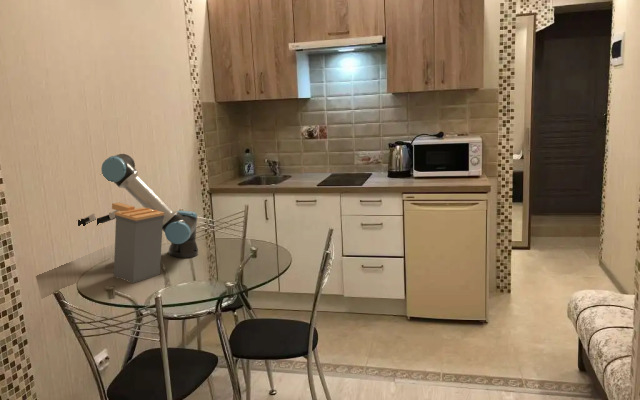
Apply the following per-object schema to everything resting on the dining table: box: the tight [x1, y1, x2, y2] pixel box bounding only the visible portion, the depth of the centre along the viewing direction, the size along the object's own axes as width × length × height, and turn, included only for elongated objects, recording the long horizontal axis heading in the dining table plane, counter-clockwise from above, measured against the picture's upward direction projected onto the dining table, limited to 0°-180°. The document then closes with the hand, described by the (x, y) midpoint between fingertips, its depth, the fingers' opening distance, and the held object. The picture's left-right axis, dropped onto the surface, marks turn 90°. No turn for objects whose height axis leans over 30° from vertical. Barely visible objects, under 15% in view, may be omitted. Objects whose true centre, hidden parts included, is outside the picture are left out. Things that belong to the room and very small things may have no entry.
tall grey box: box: [113, 215, 164, 284], centre depth 230 cm, size 13×17×28 cm
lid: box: [111, 202, 164, 221], centre depth 229 cm, size 22×17×2 cm
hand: (106, 214), depth 237 cm, fingers open, 13 cm apart
